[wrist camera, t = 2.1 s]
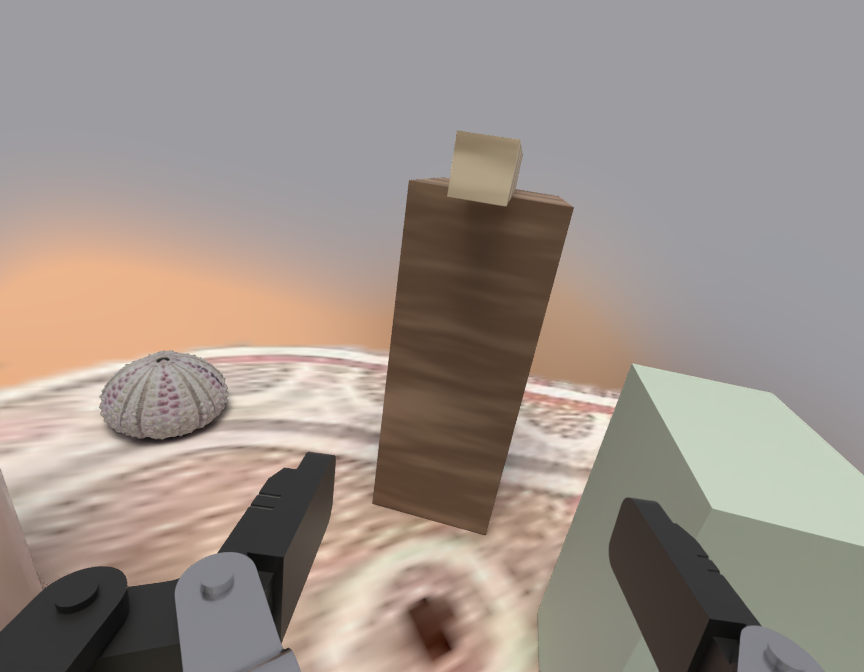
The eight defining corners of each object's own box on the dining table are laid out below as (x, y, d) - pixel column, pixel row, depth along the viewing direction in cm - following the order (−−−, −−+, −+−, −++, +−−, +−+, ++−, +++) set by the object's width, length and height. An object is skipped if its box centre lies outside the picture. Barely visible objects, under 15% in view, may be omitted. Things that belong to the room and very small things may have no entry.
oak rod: (506, 206, 22) (520, 139, 20) (447, 196, 22) (456, 130, 21) (515, 189, 42) (522, 155, 40) (484, 184, 42) (490, 150, 41)
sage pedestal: (687, 867, 23) (973, 574, 13) (542, 814, 24) (712, 508, 14) (635, 642, 34) (772, 393, 24) (537, 613, 35) (631, 363, 25)
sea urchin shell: (180, 377, 59) (174, 326, 56) (253, 407, 55) (251, 354, 52) (75, 423, 48) (60, 362, 45) (158, 466, 44) (148, 402, 41)
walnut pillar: (485, 535, 41) (573, 207, 29) (372, 503, 43) (409, 180, 30) (494, 449, 54) (558, 196, 42) (407, 427, 56) (443, 177, 43)
